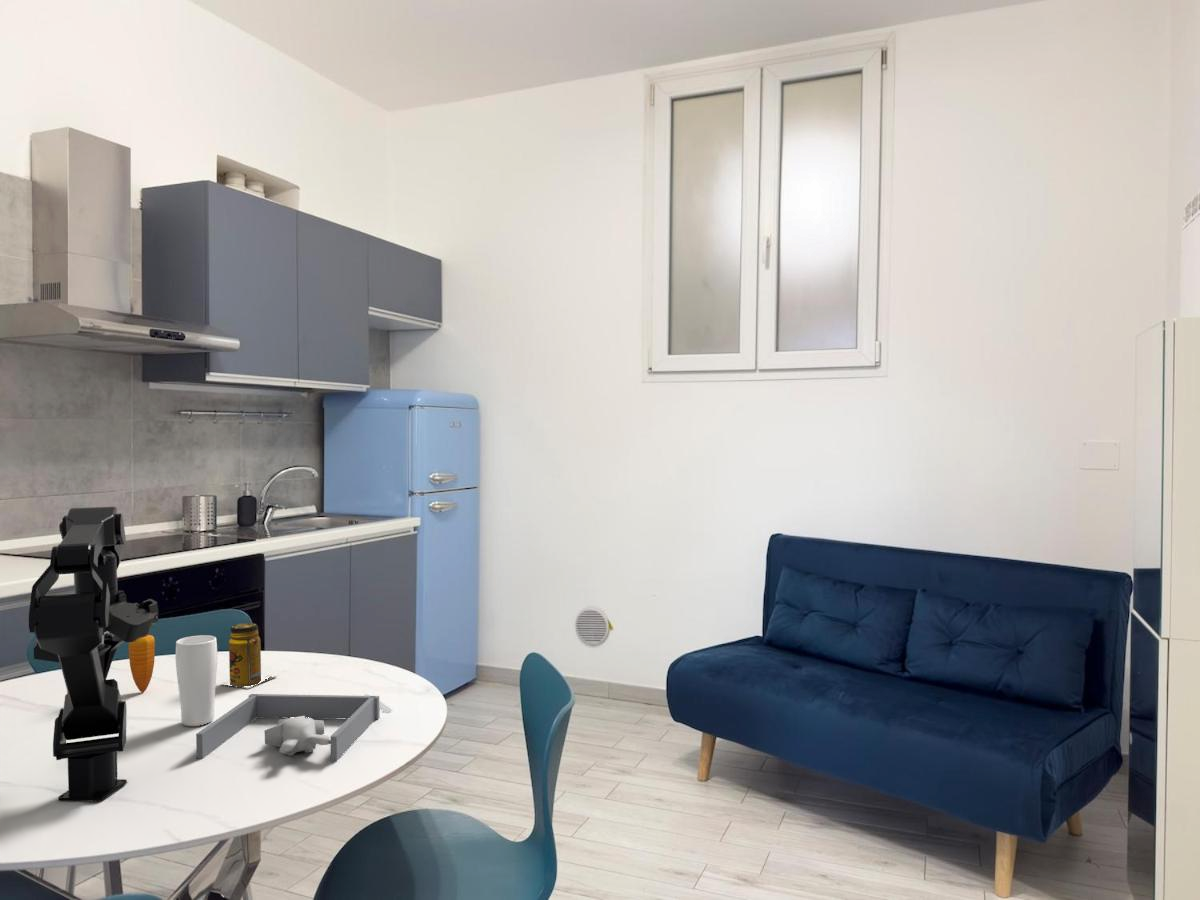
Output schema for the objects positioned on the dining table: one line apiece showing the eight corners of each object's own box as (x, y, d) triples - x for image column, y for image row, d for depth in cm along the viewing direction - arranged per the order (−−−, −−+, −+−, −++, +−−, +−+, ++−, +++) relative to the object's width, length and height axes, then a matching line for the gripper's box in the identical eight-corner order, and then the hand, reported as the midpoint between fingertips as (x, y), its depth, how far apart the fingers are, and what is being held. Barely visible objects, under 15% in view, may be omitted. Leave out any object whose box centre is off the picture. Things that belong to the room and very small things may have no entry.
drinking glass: (202, 730, 150) (200, 645, 150) (168, 727, 152) (166, 643, 151) (226, 717, 157) (225, 635, 157) (193, 714, 158) (192, 634, 158)
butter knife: (379, 713, 158) (394, 709, 160) (334, 678, 181) (348, 675, 182) (379, 716, 158) (394, 712, 160) (335, 681, 181) (349, 678, 182)
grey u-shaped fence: (340, 761, 137) (339, 736, 136) (193, 758, 138) (193, 733, 138) (379, 717, 157) (379, 696, 156) (251, 715, 158) (251, 693, 158)
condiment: (220, 686, 176) (218, 627, 175) (250, 674, 184) (249, 618, 183) (248, 689, 173) (247, 630, 173) (277, 677, 181) (276, 621, 181)
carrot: (150, 686, 175) (148, 613, 175) (161, 691, 172) (159, 617, 171) (124, 692, 171) (122, 618, 171) (135, 698, 168) (133, 622, 168)
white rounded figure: (317, 707, 150) (336, 723, 137) (318, 737, 150) (337, 756, 137) (260, 717, 146) (274, 734, 133) (261, 748, 145) (275, 768, 132)
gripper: (94, 612, 121) (99, 716, 124) (183, 575, 140) (185, 667, 142) (27, 603, 124) (33, 706, 126) (123, 568, 142) (126, 658, 144)
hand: (100, 683), depth 134 cm, fingers closed
